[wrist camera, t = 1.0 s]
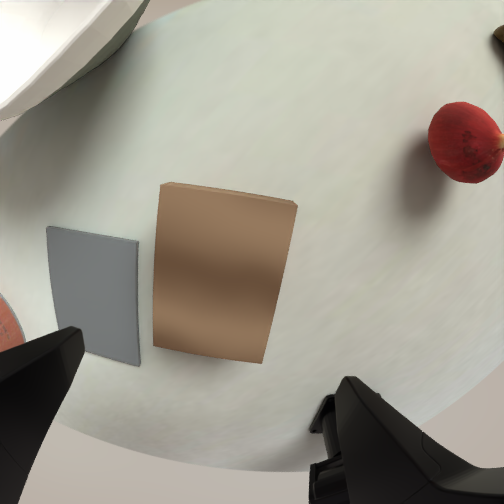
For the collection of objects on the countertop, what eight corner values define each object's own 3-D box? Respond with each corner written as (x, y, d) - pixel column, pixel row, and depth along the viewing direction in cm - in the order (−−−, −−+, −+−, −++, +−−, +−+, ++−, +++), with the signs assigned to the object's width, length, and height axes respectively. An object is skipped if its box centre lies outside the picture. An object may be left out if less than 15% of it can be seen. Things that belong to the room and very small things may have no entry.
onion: (449, 190, 19) (517, 208, 11) (400, 156, 18) (470, 160, 10) (467, 132, 17) (533, 133, 9) (420, 94, 16) (487, 76, 9)
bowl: (185, -73, 10) (165, -131, 1) (217, 78, 16) (191, 13, 7) (18, 9, 12) (-33, -11, 2) (15, 163, 18) (-62, 176, 8)
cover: (260, 347, 19) (261, 363, 17) (160, 330, 18) (153, 345, 17) (292, 200, 16) (297, 205, 14) (170, 182, 15) (160, 184, 13)
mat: (140, 363, 24) (139, 366, 23) (64, 339, 23) (61, 342, 23) (138, 241, 20) (136, 243, 19) (49, 226, 19) (46, 227, 19)
